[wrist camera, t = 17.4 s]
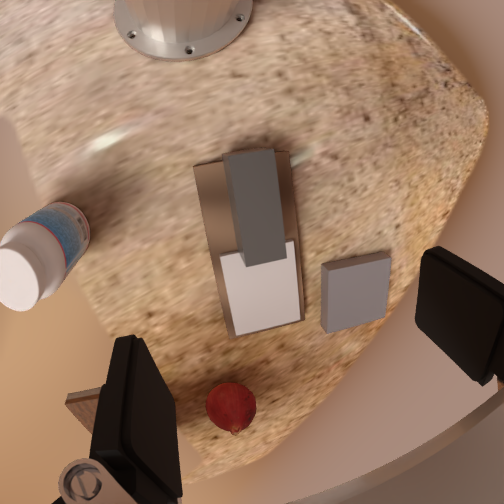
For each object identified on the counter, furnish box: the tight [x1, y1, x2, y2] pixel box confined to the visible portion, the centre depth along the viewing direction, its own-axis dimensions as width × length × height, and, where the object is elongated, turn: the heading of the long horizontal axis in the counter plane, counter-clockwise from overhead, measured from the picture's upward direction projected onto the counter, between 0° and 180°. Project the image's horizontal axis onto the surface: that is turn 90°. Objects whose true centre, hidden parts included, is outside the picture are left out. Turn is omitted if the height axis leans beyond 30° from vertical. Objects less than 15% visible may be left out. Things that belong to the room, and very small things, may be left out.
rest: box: [193, 151, 305, 339], centre depth 30 cm, size 18×8×1 cm, turn 8°
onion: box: [206, 382, 256, 435], centre depth 33 cm, size 6×6×8 cm
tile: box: [321, 252, 391, 334], centre depth 34 cm, size 8×2×8 cm
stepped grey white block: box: [219, 147, 300, 336], centre depth 28 cm, size 18×7×4 cm, turn 8°
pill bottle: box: [0, 202, 90, 311], centre depth 21 cm, size 6×6×11 cm
